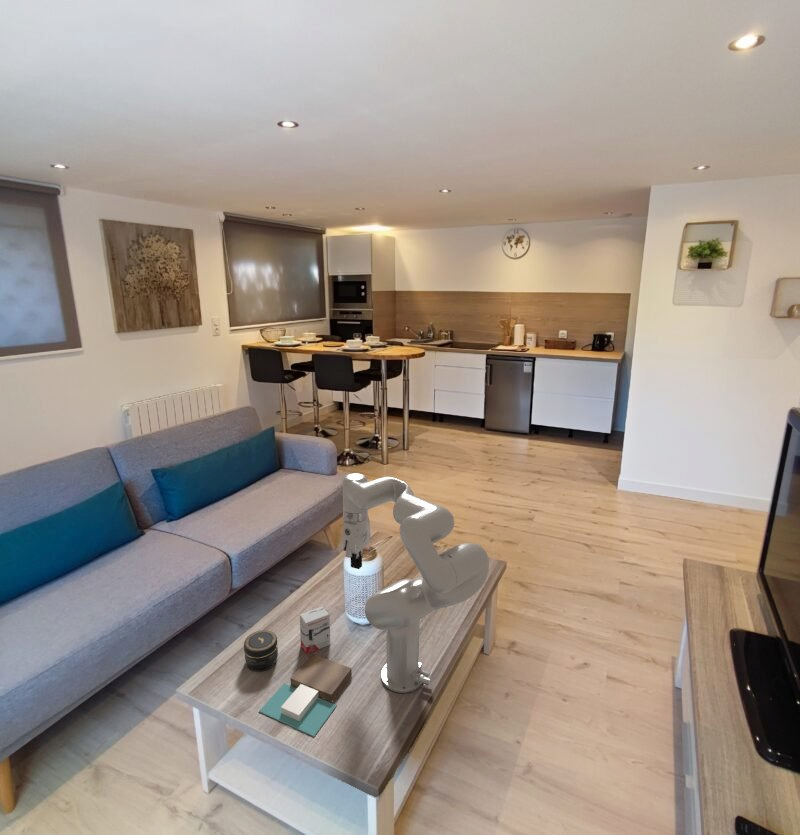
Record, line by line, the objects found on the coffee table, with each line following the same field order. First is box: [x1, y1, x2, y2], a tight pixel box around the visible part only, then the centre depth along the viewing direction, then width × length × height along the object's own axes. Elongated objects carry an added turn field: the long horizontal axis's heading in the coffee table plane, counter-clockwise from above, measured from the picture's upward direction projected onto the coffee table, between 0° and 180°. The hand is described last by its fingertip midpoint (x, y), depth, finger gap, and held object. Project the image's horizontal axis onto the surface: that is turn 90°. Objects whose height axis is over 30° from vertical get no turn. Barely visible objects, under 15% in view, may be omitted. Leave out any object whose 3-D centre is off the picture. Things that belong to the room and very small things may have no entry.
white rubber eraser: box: [281, 684, 320, 721], centre depth 136 cm, size 6×9×2 cm, turn 155°
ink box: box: [299, 605, 331, 655], centre depth 158 cm, size 8×5×12 cm, turn 123°
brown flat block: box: [289, 653, 353, 703], centre depth 145 cm, size 14×11×2 cm
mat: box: [258, 683, 337, 738], centre depth 135 cm, size 18×11×1 cm, turn 65°
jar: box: [243, 629, 279, 672], centre depth 151 cm, size 10×10×8 cm
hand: (356, 566), depth 155 cm, fingers closed
